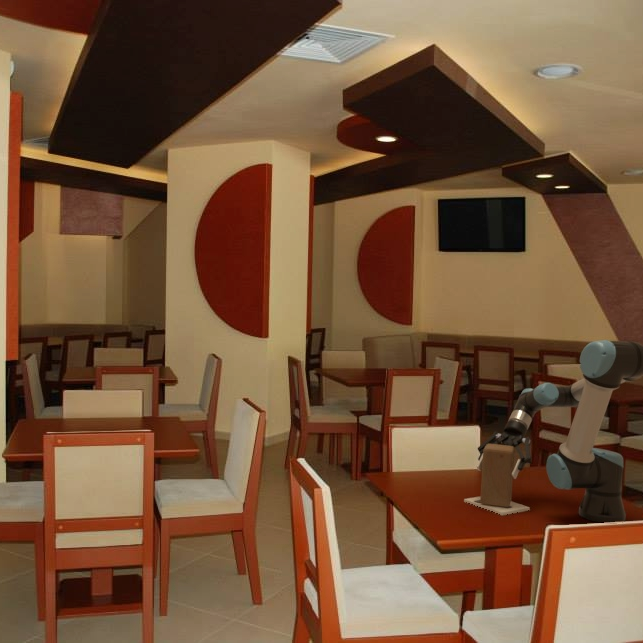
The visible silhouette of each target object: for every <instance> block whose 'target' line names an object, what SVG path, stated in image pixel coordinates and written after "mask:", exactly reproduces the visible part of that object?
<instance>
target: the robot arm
mask: <svg viewBox="0 0 643 643" xmlns="http://www.w3.org/2000/svg"><path fill="white" fill-rule="evenodd" d="M579 363H580V365H579V368H580V370H581V373H582V378H581V379H580V380H578V381H575V382H574V383H572V384H570V385H567V386H565V385H564V386H563V385H560V386H558V385H555V384H553V383H551V382H544V383H542V384H539V385H538V386H536V387H535V388H531V387H530V388H524V389H523V390H522V392H521V394H519V396H518V399H517V401H516V403H515V406H514V408H513V409H512V412H511V415H510V416H509V418H508V421H506V422H507V423H506V424H505V426H504V428H503V429H504V430H503V432H502V433H498V431H494V432H493V433H492V435H491V436H490V437H489V438H487V439H486V440H485V441H484V442H483V443H481V444H480V445H479V446H478V447H477V451H478V452H479V456H478V458H477V460H478V462H477V465H476V469H477V471H478V472H481V473H482V463H483V450H484V448H485V446H486V445H487V444H498V445H508V446H513V447H514V448H515V449H516V451H517V453H518V455H519V457H520V458H518V459H517V461H516V464H515V466H514V467H513V472H512V476H513V480H516V479H517V477H518V475H519V472H520V471H521V472H522V471H523V469H524V467H525V465H526V464H531V463H532V453H531V447H530V446H531V443H532V442H531V439H530V437H529V436H526V434H527V432H528V429H529V428H530V425H531V423H532V421H533V418H534V417H535V414H536V413H537V412H539V411H541V410H543V409H544V408H576V411H575V414H574V417H573V419H572V422H571V426H570V429H569V433H568V435H567V438H566V441H565V442H563V443H560V445H559V447H558V451H557V453H553V454H551V455H549V456H548V457H547V460H546V464H545V465H546V473H547V476H548V480H549V481H550V483H551V484H552V485H553V487H555V488H556V489H559V490H566V491H567V490H575V489H578V490H579V489H585V491H584V492H585V493H584V495H583V496H582V500H581V502H580V503H579V504H580V505H579V508H578V515H579V516H580V517H581V518H583V519H585V520H588V521H591V522H592V521H593V522H597V523H601V522H615V521H624V522H625V521H626V516H627V515H626V511H625V506H624V503H623V500H622V492H623V478H624V477H623V476H624V467H625V466H624V457H623V456H622V454H621V453H620V452H619V453H618V452H616V451H611V450H608V449H603V448H597V447H594V446H595V443H596V440H597V437H598V434H599V432H600V429H601V425H602V424H603V420H604V418H605V417H604V416H605V414H606V411H607V408H608V406H609V402H610V399H611V397H612V394H613V391H615V390H617V389H619V388H620V386H621V384H624V383H626V382H628V383H629V382H630V383H631V382H634V381H636V380H639V379H640V378H642V377H643V344H641V343H640V342H638V341H634V340H633V341H632V340H628V341H626V340H624V341H623V340H622V341H621V340H607V339H604V340H603V339H601V340H593V341H591V342H589V343H588V344H587V345H586V346H584V348H583V349H582V351H581V353H580V357H579ZM523 443H524V449H525V456H526V457H524V454H523V452H522V449H521V447H520V445H521V444H523Z"/></svg>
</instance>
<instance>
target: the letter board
mask: <svg viewBox="0 0 643 643" xmlns="http://www.w3.org/2000/svg"><path fill="white" fill-rule="evenodd" d="M480 498H481V495H480V496H475V497H468V498H464V499H463V502H464V503H466V502H467V503H466V504H468V503H470V504H469V505H471V504H473V505H472V506H474V505H475V507H477V506H478V507H477V508H479V507H481V508H480V509H482V508H484V509H483V510H485V509H487V510H486V511H488V510H490V511H489V512H491V511H493V512H495V513H494V514H496V513H498V514H497V515H499V514H500V515H499V516H506V515H507V514H508V515H513V514H517V512H518V513H524V512H527V511H528V510H529V511H531V509H530V508H531V507H529V506H526V505H523V504H520V503H519V502H516V501H515V502H514V501H512V500H511V502H510V505H509V507H501V506H494V505H486V504H482V503H481V501H480ZM493 512H492V513H493ZM512 513H513V514H512Z"/></svg>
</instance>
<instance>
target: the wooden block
mask: <svg viewBox="0 0 643 643" xmlns="http://www.w3.org/2000/svg"><path fill="white" fill-rule="evenodd" d="M514 460H515V447H513V446H508V445H498V444H487V445H486V446H485V448H484V450H483V463H482V470H481V484H480V496H481V498H480V501H481V503H482V504H486V505H494V506H501V507H509V505H510V502H511V501H512V496H513V482H514V481H513V480H514V478H513V476H512V472H513V470H514V462H515V461H514Z"/></svg>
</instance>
